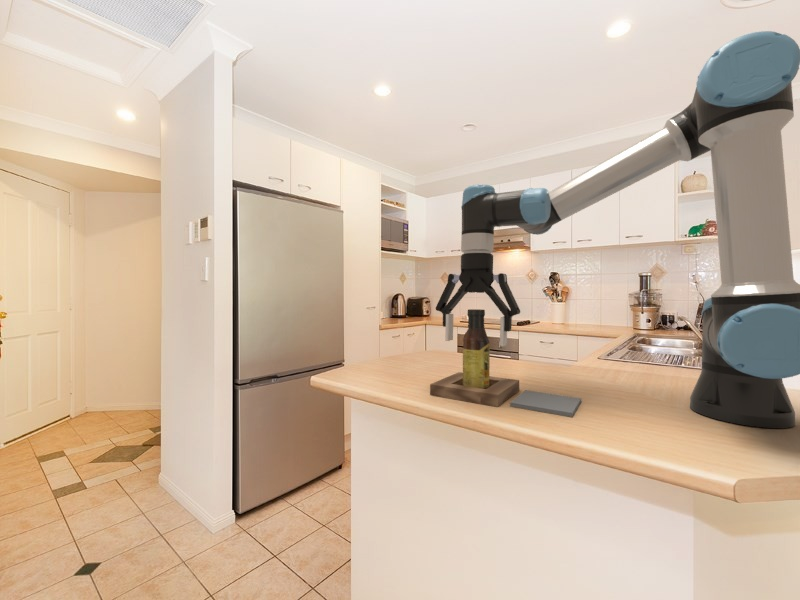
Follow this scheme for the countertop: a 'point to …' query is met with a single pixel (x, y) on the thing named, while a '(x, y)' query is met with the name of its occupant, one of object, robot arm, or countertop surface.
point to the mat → (547, 403)
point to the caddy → (475, 390)
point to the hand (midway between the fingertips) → (475, 342)
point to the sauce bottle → (476, 351)
